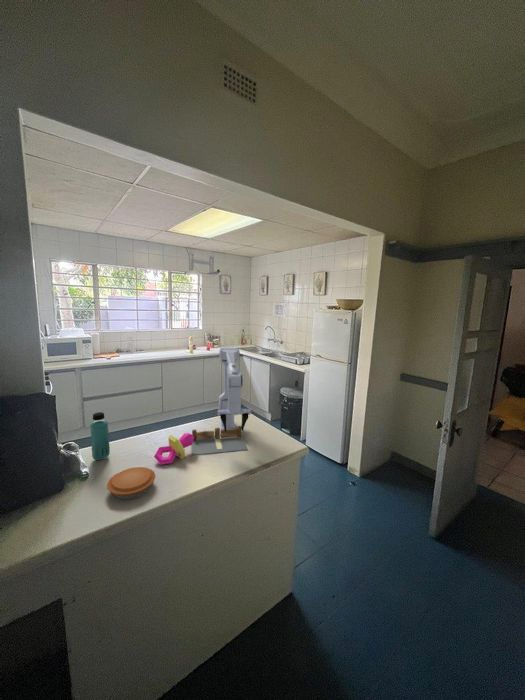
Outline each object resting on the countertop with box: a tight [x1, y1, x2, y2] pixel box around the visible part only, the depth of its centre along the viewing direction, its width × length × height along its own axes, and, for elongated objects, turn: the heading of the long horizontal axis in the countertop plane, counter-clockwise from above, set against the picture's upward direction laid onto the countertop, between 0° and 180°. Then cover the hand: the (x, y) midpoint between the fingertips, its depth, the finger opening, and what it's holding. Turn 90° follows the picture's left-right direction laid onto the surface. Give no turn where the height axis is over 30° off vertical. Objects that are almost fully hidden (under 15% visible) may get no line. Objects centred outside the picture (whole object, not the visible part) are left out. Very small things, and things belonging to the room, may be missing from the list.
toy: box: [153, 432, 194, 466], centre depth 120 cm, size 10×18×10 cm, turn 137°
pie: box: [106, 466, 156, 500], centre depth 98 cm, size 15×16×5 cm
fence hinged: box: [191, 429, 215, 440], centre depth 136 cm, size 10×2×5 cm, turn 105°
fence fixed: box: [214, 425, 242, 439], centre depth 139 cm, size 2×13×5 cm, turn 105°
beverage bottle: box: [89, 411, 111, 461], centre depth 115 cm, size 6×7×20 cm
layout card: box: [190, 433, 249, 456], centre depth 133 cm, size 17×25×1 cm
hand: (233, 429), depth 126 cm, fingers open, 7 cm apart
